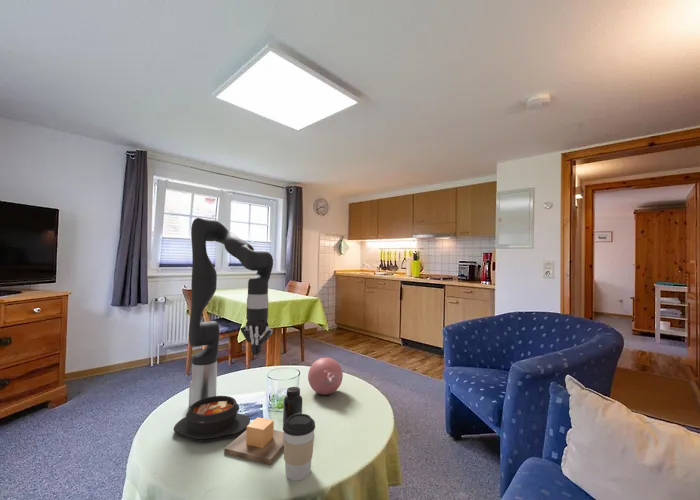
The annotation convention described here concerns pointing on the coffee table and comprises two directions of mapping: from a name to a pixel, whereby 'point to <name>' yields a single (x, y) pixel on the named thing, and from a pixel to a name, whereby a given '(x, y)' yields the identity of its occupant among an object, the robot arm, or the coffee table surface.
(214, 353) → the robot arm
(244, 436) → the post stand
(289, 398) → the supplement bottle
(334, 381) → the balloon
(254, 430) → the peach cube
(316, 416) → the coffee table surface
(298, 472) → the coffee cup
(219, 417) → the casserole
